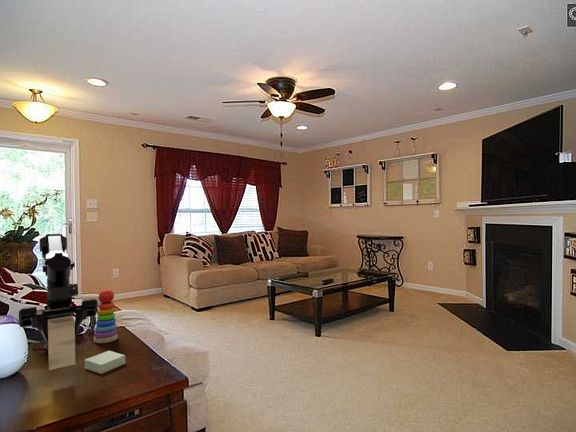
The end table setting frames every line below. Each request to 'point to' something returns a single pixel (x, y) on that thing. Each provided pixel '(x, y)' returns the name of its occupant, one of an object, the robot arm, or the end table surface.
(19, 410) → the end table surface
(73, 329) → the birch pillar
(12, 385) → the end table surface
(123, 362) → the sage block
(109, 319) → the stacking toy
